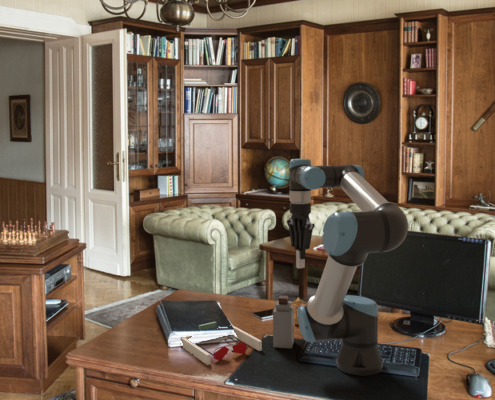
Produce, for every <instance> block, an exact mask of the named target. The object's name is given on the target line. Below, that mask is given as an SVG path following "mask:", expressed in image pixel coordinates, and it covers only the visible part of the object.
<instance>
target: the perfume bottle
mask: <svg viewBox="0 0 495 400" xmlns="http://www.w3.org/2000/svg"><path fill="white" fill-rule="evenodd" d="M292 302H293V301H292V300H289V295H279V296H278V300H276V302H275V303H274V305H275V306H274V309H273V310H272V344H273V345H272V347H273V348H277V349H278V348H279V349H293V345H294V344H295V343H294V342H295V323H294V316H295V306H292V304H291V303H292Z"/></svg>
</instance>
